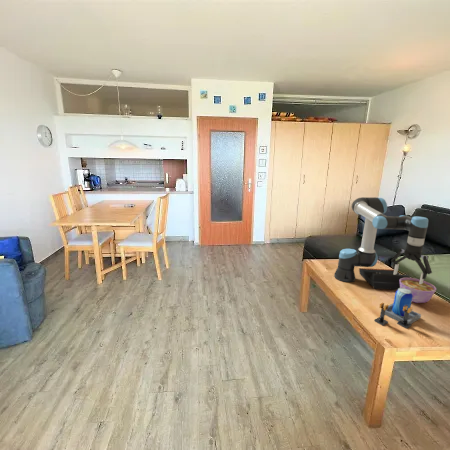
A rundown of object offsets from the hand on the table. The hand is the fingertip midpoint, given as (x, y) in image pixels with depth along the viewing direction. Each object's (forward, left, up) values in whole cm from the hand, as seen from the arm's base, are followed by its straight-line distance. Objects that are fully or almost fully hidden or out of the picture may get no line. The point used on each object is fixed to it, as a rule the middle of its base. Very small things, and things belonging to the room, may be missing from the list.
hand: (407, 278), depth 149 cm
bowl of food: (-5, +28, -24) cm, 37 cm away
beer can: (0, 0, -24) cm, 24 cm away
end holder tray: (0, 0, -24) cm, 24 cm away
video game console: (-29, +36, -25) cm, 53 cm away
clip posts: (+2, -13, -24) cm, 27 cm away
